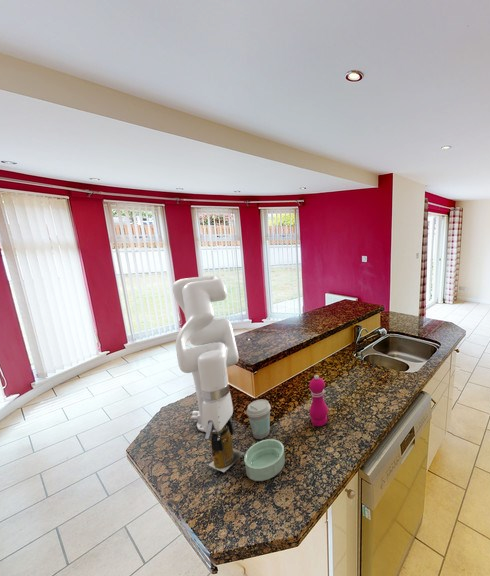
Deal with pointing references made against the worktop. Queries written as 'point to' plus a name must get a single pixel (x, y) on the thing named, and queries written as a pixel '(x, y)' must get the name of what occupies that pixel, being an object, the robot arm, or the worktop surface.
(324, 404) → the pepper mill
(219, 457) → the condiment
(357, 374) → the worktop surface
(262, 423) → the coffee cup
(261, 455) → the bowl
